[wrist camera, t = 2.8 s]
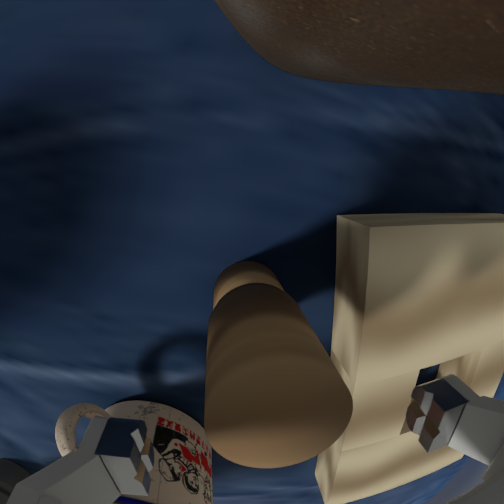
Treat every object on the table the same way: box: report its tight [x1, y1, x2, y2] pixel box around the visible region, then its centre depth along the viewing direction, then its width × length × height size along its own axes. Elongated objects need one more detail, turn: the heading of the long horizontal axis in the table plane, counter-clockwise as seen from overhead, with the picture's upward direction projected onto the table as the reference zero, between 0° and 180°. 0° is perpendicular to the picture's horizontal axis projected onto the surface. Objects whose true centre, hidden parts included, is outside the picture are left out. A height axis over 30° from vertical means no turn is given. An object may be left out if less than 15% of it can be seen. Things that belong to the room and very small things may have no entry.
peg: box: [204, 261, 353, 468], centre depth 12 cm, size 4×4×10 cm
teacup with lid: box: [55, 400, 213, 504], centre depth 13 cm, size 12×9×12 cm
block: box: [315, 213, 504, 504], centre depth 18 cm, size 22×14×4 cm, turn 2°
